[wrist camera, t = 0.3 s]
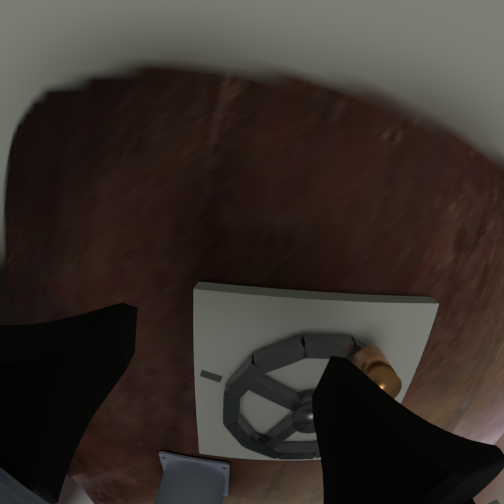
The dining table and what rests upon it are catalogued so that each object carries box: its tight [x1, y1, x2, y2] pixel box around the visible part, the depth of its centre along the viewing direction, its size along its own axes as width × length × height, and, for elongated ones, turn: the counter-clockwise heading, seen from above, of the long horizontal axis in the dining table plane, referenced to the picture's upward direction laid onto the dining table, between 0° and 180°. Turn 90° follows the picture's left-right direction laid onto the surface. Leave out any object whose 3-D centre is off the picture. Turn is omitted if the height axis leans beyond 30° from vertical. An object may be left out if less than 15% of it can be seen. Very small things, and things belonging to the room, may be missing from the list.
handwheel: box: [223, 334, 402, 460], centre depth 17 cm, size 14×13×5 cm
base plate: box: [193, 282, 439, 460], centre depth 20 cm, size 18×18×2 cm
